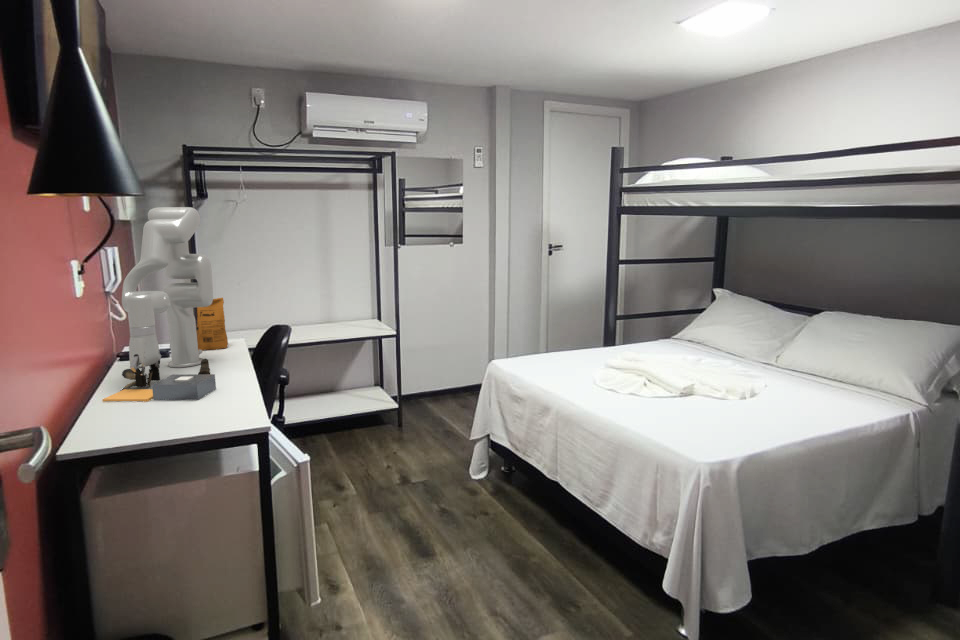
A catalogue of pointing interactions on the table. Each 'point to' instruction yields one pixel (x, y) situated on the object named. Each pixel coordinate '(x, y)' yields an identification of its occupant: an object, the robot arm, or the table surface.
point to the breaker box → (184, 387)
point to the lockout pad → (131, 395)
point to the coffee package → (211, 326)
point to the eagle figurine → (130, 375)
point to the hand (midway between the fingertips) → (148, 383)
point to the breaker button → (184, 378)
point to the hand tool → (204, 367)
